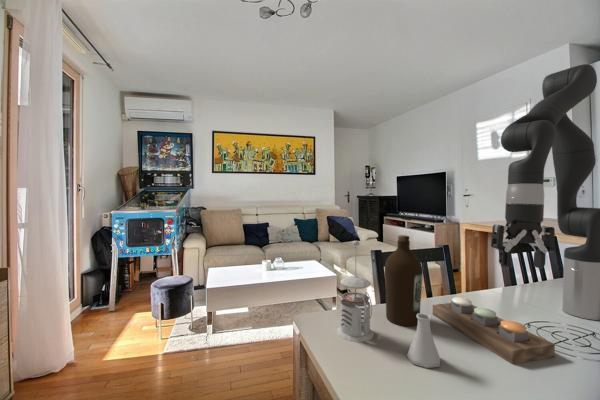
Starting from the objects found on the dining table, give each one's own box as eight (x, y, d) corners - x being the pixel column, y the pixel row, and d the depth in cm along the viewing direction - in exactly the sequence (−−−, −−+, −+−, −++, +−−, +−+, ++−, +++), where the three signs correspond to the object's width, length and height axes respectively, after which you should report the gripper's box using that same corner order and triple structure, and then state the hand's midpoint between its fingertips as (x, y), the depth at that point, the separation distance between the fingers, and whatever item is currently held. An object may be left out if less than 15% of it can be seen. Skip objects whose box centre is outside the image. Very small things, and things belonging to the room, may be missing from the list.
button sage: (484, 320, 80) (484, 306, 79) (500, 328, 75) (500, 314, 75) (469, 322, 78) (469, 308, 78) (484, 330, 74) (485, 316, 73)
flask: (445, 371, 60) (446, 324, 60) (409, 367, 62) (409, 321, 61) (436, 352, 67) (436, 310, 67) (404, 348, 69) (404, 308, 68)
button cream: (462, 308, 87) (462, 296, 87) (475, 315, 82) (475, 302, 82) (448, 310, 86) (448, 297, 86) (461, 317, 81) (461, 304, 81)
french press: (361, 321, 83) (362, 236, 82) (385, 341, 72) (386, 243, 71) (331, 326, 80) (331, 238, 79) (351, 348, 69) (351, 246, 68)
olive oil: (379, 321, 83) (380, 236, 82) (389, 309, 92) (390, 232, 91) (418, 331, 77) (419, 240, 77) (424, 317, 86) (426, 235, 85)
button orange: (511, 334, 72) (511, 319, 72) (531, 344, 67) (531, 328, 67) (495, 336, 71) (495, 321, 71) (514, 347, 66) (514, 331, 66)
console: (465, 310, 91) (465, 301, 91) (554, 357, 65) (554, 344, 65) (432, 314, 88) (432, 304, 88) (512, 364, 63) (512, 350, 63)
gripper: (539, 203, 75) (537, 264, 75) (486, 201, 75) (483, 262, 75) (566, 203, 67) (563, 272, 67) (507, 201, 67) (504, 269, 67)
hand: (521, 267), depth 71 cm, fingers open, 8 cm apart
